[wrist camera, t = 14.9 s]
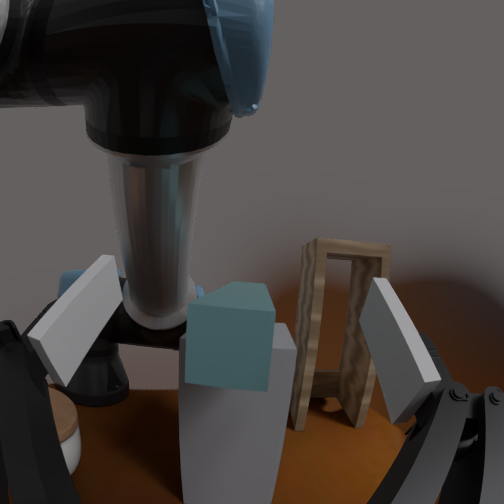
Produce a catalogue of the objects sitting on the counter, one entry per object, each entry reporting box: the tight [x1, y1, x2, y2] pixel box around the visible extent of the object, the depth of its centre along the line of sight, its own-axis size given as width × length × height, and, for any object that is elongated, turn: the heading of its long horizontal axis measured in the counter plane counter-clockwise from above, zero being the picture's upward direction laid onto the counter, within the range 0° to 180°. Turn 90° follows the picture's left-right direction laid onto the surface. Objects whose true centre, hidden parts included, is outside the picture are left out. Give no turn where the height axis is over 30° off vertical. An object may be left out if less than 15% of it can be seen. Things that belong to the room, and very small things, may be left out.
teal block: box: [185, 281, 276, 392], centre depth 24 cm, size 24×4×4 cm, turn 178°
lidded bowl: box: [48, 387, 81, 475], centre depth 17 cm, size 13×13×11 cm
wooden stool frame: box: [289, 238, 391, 431], centre depth 46 cm, size 15×12×31 cm
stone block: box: [179, 323, 297, 504], centre depth 25 cm, size 10×9×20 cm
